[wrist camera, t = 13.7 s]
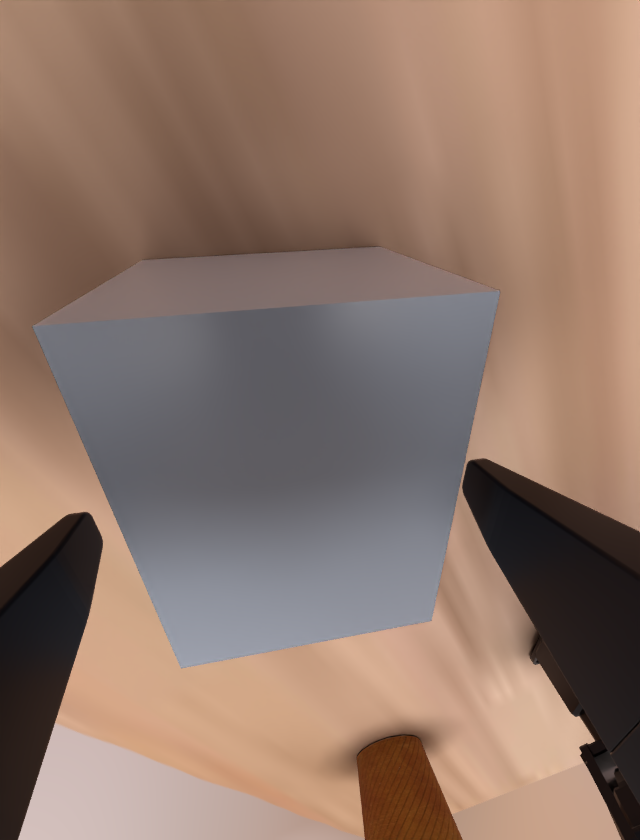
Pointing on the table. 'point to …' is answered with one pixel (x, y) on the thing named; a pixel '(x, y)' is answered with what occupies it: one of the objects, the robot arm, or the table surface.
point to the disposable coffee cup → (402, 793)
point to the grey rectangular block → (278, 435)
